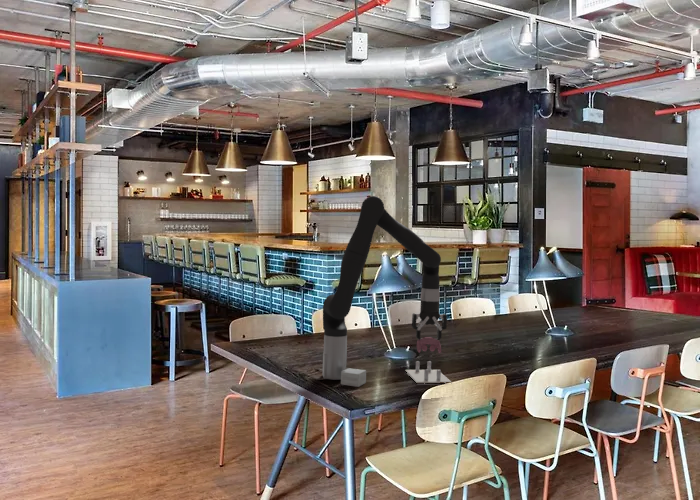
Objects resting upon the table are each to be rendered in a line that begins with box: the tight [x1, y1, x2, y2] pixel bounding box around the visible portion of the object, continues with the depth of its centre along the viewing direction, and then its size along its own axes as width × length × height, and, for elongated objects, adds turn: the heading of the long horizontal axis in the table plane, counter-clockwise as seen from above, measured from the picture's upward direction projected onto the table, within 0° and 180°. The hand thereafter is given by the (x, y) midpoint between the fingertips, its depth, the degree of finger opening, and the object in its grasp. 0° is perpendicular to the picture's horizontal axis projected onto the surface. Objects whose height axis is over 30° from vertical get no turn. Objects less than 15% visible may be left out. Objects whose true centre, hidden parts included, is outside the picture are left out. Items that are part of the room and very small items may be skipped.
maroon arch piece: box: [416, 336, 442, 354], centre depth 256 cm, size 10×5×7 cm, turn 92°
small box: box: [340, 367, 367, 388], centre depth 246 cm, size 8×8×5 cm
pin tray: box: [405, 360, 452, 385], centre depth 258 cm, size 14×20×5 cm
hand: (428, 339), depth 257 cm, fingers closed on maroon arch piece, 7 cm apart
